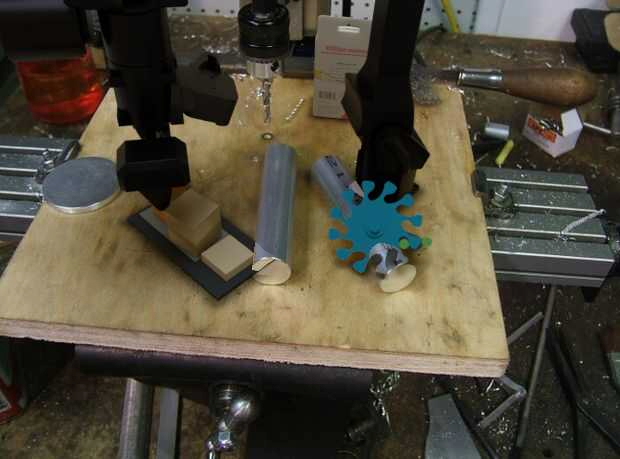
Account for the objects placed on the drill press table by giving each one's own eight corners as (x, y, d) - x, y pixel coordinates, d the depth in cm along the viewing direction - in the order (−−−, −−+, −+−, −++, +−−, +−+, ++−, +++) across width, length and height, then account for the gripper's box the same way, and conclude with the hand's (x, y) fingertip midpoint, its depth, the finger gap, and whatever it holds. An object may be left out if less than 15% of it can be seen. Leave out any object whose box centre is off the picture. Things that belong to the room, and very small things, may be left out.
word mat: (275, 259, 60) (275, 249, 59) (217, 300, 56) (216, 290, 55) (184, 188, 68) (182, 178, 67) (127, 220, 64) (124, 210, 62)
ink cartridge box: (372, 104, 83) (386, 5, 72) (371, 122, 79) (384, 22, 69) (315, 98, 83) (320, -1, 73) (311, 116, 80) (315, 15, 69)
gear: (312, 254, 59) (347, 165, 58) (318, 252, 65) (350, 171, 64) (412, 294, 57) (448, 203, 57) (409, 288, 63) (441, 205, 63)
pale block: (222, 234, 62) (219, 205, 58) (198, 258, 59) (193, 229, 55) (194, 217, 63) (190, 187, 59) (169, 240, 61) (163, 210, 57)
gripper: (244, 102, 45) (248, 235, 56) (218, 3, 58) (225, 128, 69) (100, 113, 43) (133, 250, 54) (105, 7, 56) (132, 136, 67)
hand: (162, 184), depth 61 cm, fingers open, 8 cm apart
